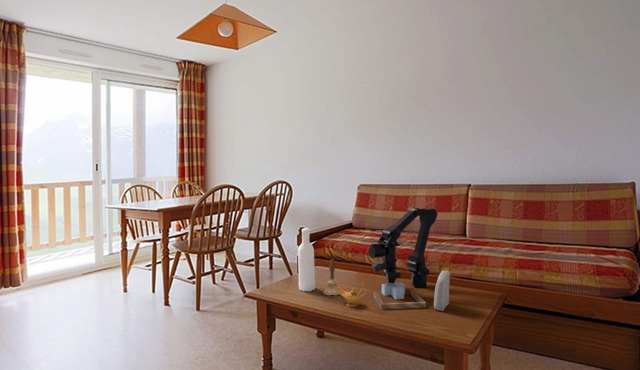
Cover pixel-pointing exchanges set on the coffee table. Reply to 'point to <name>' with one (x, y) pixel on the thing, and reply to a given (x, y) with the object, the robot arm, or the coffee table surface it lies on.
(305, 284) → the bottle
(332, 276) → the hand bell
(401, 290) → the grey stepped block
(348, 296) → the magic lamp
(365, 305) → the coffee table surface
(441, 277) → the decorative stone
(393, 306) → the bay
